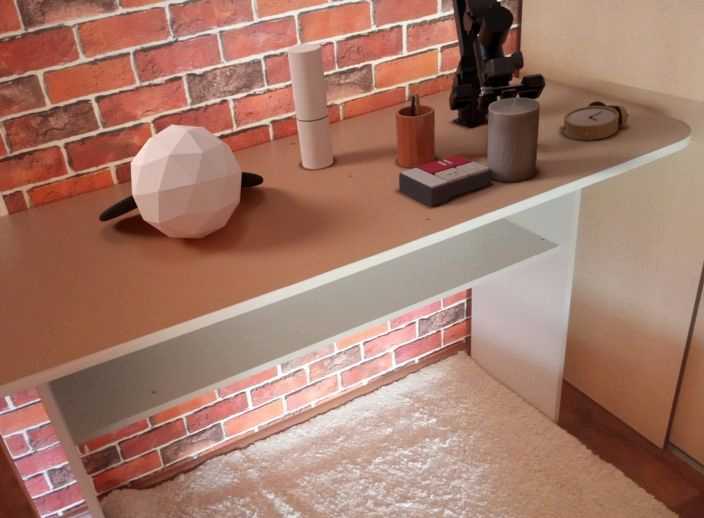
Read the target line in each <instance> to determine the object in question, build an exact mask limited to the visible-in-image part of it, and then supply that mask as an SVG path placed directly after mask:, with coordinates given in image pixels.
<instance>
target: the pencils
mask: <svg viewBox="0 0 704 518" xmlns="http://www.w3.org/2000/svg"><path fill="white" fill-rule="evenodd" d="M410 98H411V99H410V100H411V101H410V106H411V112H410V116H414V109H415V105H416V110H417V116H420V115H421V111H420V105H421V103H420V94H419V92H418V91H415V92H414V94H413V95H411V97H410Z"/></svg>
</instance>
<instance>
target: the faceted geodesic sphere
mask: <svg viewBox="0 0 704 518" xmlns="http://www.w3.org/2000/svg"><path fill="white" fill-rule="evenodd" d="M130 178H131V180H130V181H131V195H128V196H127V197H125V198H123V199H121V200H119V201H118V202H116V203H114V204H112V205H111V206H109V207H108V208H106V209H105V210H104V211H102V212H101V213H100V214H99V216H98V220H99V221H100V222H102V223H103V222H108V221H111V220H114V219H117V218H119V217H122V216H124V215H126V214H128V213H130V212H133V211H134V210H136V209H138V211H139V214H140V215H141V218H142V220H143V221H145V222H146V223H147V224H150V226H152V227H154V228H155V229H157V230H158V231H159V232H161V233H163V234H164V235H166V236H167V237H169V238H176V239H177V238H179V239H202V238H204V237H207V236H208V235H210V234H212V233H214V232H216V231H218V230H220V229H221V228H223V227H225V226H226V225H227V223H228V221H229V220H230V218H231V216H232V215H233V214H234V211H235V210H236V208H238V207H237V206H239V204H240V202H241V189H245V188H246V189H247V188H253V187H257V186H258V187H259V186H260V185H262V184H263V183H264V180H265V179H264V177H263V176H261V175H260V174H258V173H253V172H246V171H242V168H241V167H240V164H239V163H238V160H237V159H236V157H235V154H234V152H233V151H232V149H231V147H230V145H228V144H227V143H226V142H225V141H223V140H221V139H220V138H219V137H218V136H217V135H215V134H213V133H212V132H211V131H210V130H208V129H207V128H206V127H204V126H195V125H181V124H170V125H169V126H167V127H166V128H164V129H162V130H160V131H159V132H158V133H156V134H155V135H153V136H152V137H150V138H148V139H147V141H146V142H145V143H144V144H143V146H142V147H141V149H140V150H139V151H138V152H137V154H136V155H135V156H134V158H133V159H132V160H131V162H130Z"/></svg>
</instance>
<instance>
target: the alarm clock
mask: <svg viewBox="0 0 704 518" xmlns="http://www.w3.org/2000/svg"><path fill="white" fill-rule="evenodd" d="M629 117H630V114H629V113H628V111H627V109H626V107H624V106H622V105H615V104H614V105H613V104H609V105H607V104H606V103H605V102H603V101H601V100H600V101H599V100H594V101H593V102H590V103H589V104H588V105H587V106H582V107H578V108H575V109H572V110H570V111H568V112H567V113H565V115H564V116H563V125H562V126H559V128H558V129H559V130H563V134H564V135H565V136H566V137H568V138H570V139H573V140H577V141H578V140H579V141H581V140H582V141H592V140H599V139H605V138H607V137H610V136H612V135H614V134H615V133H617V132H618V129H620V128H622V127H624V126H625V125H626V124H627V122H628V118H629Z"/></svg>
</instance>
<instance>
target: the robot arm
mask: <svg viewBox="0 0 704 518" xmlns="http://www.w3.org/2000/svg"><path fill="white" fill-rule="evenodd" d="M451 2H452V8H453V9H452V10H453V15H454V16H453V17H454V22H455V29H456V34H457V35H456V36H457V42H458V50H459V55H460V56H459V57H460V59H459V62H458V64H457V67H456V69H455V74H454V77H453V80H452V83H451V91H450V94H449V98H448V104H449V110H450V111H452V112H454V111H457V118H454V119H453V120H452V122H453V123H455V124H458V125H461V126H464V127H466V128H473V127H476V126H479V125H481V124H484V123H488V114H489V113H488V112H489V109H488V107H489V105H490V104H491V103H493V102H496V101H498V97H499V100H502V99H508V98H517V97H518V98H529V99H533V100H537V99H539V98H540V97H541V95H542V93H543V91H544V89H545V87H546V80H545V79H546V78H545V77H544V76H543V74H541V73H535V74H529V75H523V77H522V79H521V81H520V83H519V82H518V83H513V84H510V82H512V81H513V79H514V78H513V77H514V76H513V75H514V74H516V71H519V70H522V69H523V68H524V66H525V62H524V61H525V60H524V55H523V51H522V50H521V51H515V52H512V53H511V54H510V55H509V56H507V55H506V56H505V51H504V44H506V41H507V40H508V37H509V34H510V31H511V28H512V26H513V25H514V14H513V13H512V11H511V10H510V9H508V7H506V6H502V4H501V1H500V0H499V1H498V0H451Z"/></svg>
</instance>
